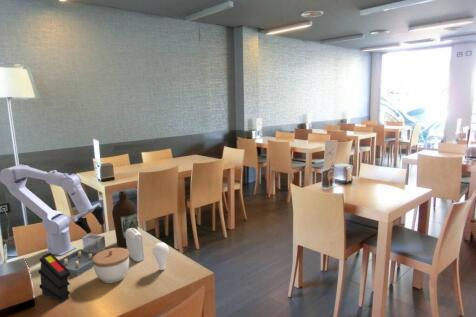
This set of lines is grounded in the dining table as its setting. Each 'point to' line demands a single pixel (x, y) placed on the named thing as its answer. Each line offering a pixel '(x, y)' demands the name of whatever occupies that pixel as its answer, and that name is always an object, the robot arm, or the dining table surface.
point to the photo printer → (134, 244)
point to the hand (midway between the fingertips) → (96, 228)
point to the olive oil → (124, 217)
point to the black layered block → (54, 278)
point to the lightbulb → (160, 254)
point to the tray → (78, 261)
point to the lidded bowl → (111, 264)
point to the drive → (94, 243)
